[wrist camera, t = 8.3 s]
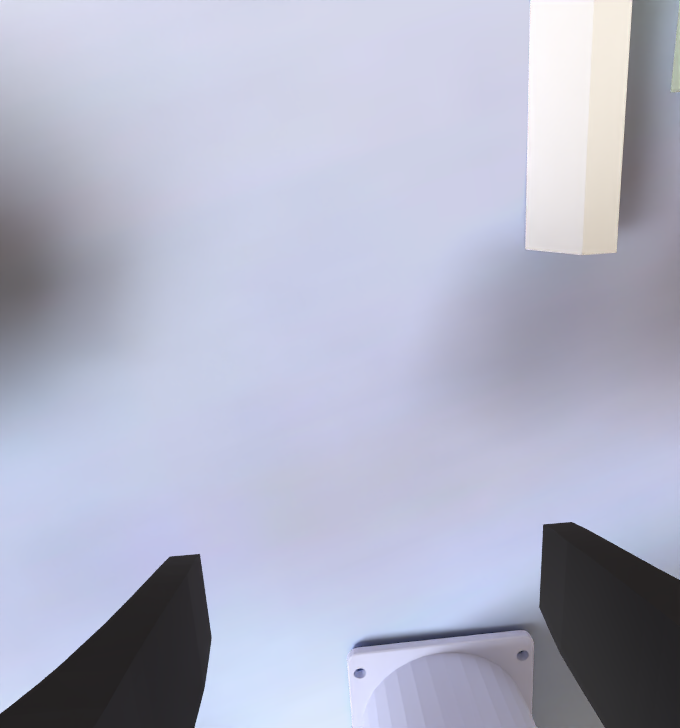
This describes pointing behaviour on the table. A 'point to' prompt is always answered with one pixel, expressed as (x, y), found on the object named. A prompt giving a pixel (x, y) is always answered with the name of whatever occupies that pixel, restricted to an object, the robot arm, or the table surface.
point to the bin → (576, 124)
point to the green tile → (676, 60)
